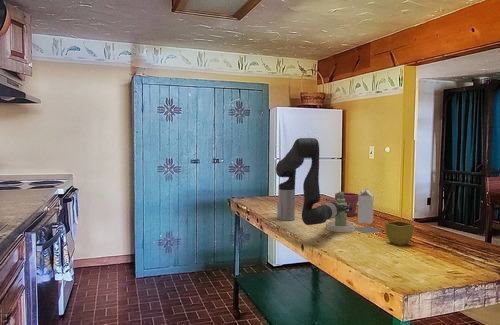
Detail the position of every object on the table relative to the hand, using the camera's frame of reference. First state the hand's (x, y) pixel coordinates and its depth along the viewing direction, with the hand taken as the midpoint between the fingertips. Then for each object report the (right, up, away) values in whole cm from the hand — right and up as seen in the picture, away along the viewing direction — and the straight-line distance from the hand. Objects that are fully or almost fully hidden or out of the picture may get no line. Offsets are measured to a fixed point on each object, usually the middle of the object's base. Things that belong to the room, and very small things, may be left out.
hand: (341, 205), depth 191 cm
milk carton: (+17, -11, +16) cm, 26 cm away
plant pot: (+12, -10, +38) cm, 41 cm away
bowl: (-1, -12, 0) cm, 12 cm away
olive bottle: (-1, -11, 0) cm, 11 cm away
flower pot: (+19, -14, -26) cm, 35 cm away
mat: (+12, -12, -2) cm, 17 cm away
